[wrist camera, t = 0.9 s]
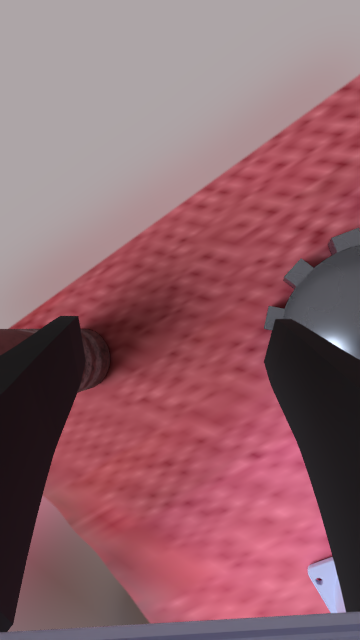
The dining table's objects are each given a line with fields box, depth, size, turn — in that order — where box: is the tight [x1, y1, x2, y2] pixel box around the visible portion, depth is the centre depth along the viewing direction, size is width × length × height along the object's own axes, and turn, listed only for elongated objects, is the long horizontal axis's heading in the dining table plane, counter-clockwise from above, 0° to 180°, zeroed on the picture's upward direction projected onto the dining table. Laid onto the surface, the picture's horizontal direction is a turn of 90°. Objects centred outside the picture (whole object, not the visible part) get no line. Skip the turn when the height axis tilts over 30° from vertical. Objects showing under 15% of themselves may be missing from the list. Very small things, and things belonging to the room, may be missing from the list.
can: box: [0, 329, 110, 393], centre depth 22 cm, size 6×6×14 cm
